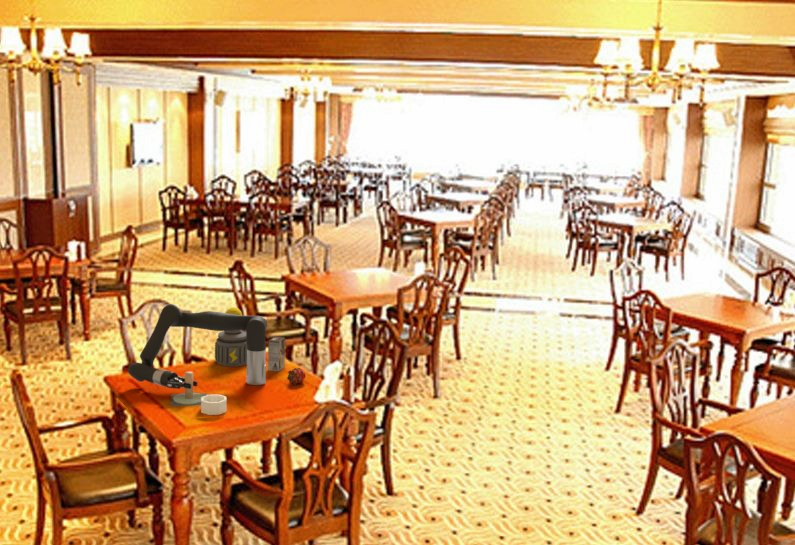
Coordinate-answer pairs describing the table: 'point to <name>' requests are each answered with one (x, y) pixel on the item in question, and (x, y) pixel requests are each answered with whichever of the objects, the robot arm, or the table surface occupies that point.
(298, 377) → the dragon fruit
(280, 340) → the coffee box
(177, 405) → the mat
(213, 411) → the bowl
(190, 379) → the lid
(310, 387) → the table surface
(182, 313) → the robot arm
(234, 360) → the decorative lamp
